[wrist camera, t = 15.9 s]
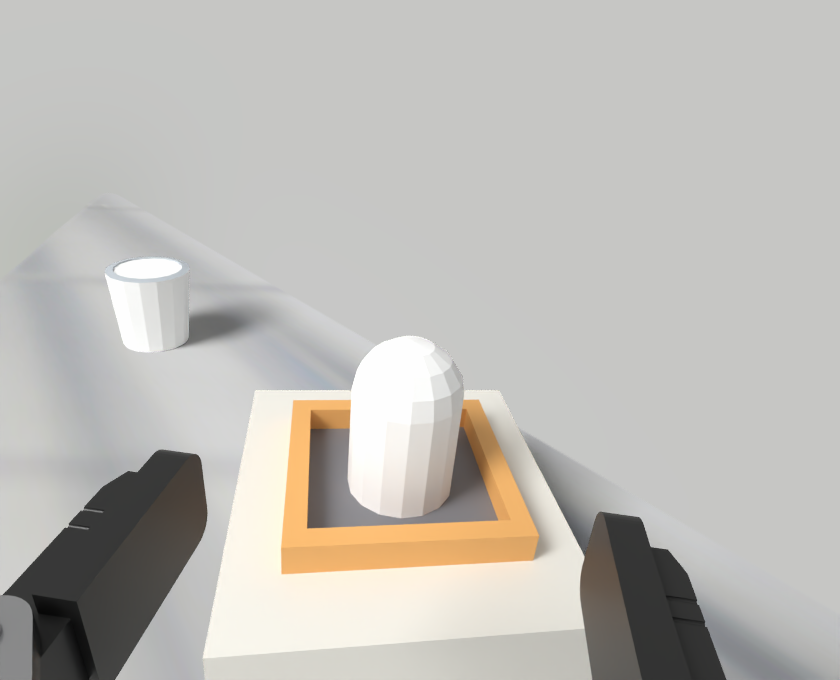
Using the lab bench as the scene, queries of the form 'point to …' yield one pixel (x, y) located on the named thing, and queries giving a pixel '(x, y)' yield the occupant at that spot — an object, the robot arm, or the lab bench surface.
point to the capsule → (404, 427)
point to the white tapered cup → (150, 302)
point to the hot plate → (392, 560)
